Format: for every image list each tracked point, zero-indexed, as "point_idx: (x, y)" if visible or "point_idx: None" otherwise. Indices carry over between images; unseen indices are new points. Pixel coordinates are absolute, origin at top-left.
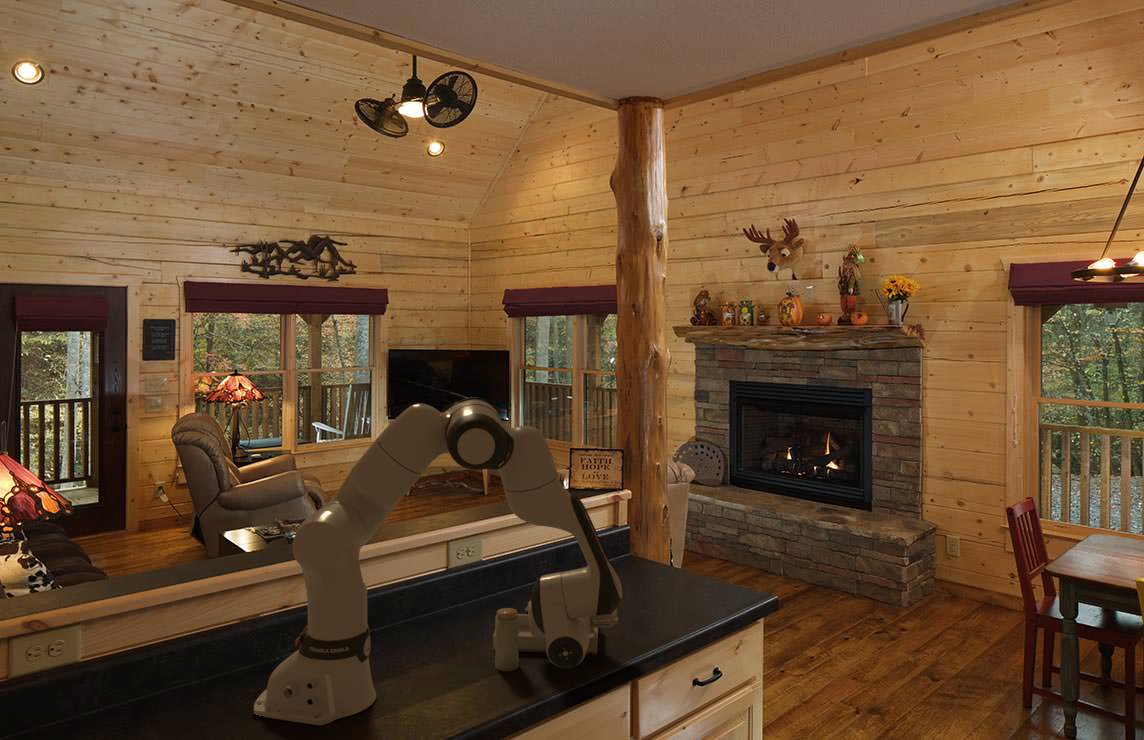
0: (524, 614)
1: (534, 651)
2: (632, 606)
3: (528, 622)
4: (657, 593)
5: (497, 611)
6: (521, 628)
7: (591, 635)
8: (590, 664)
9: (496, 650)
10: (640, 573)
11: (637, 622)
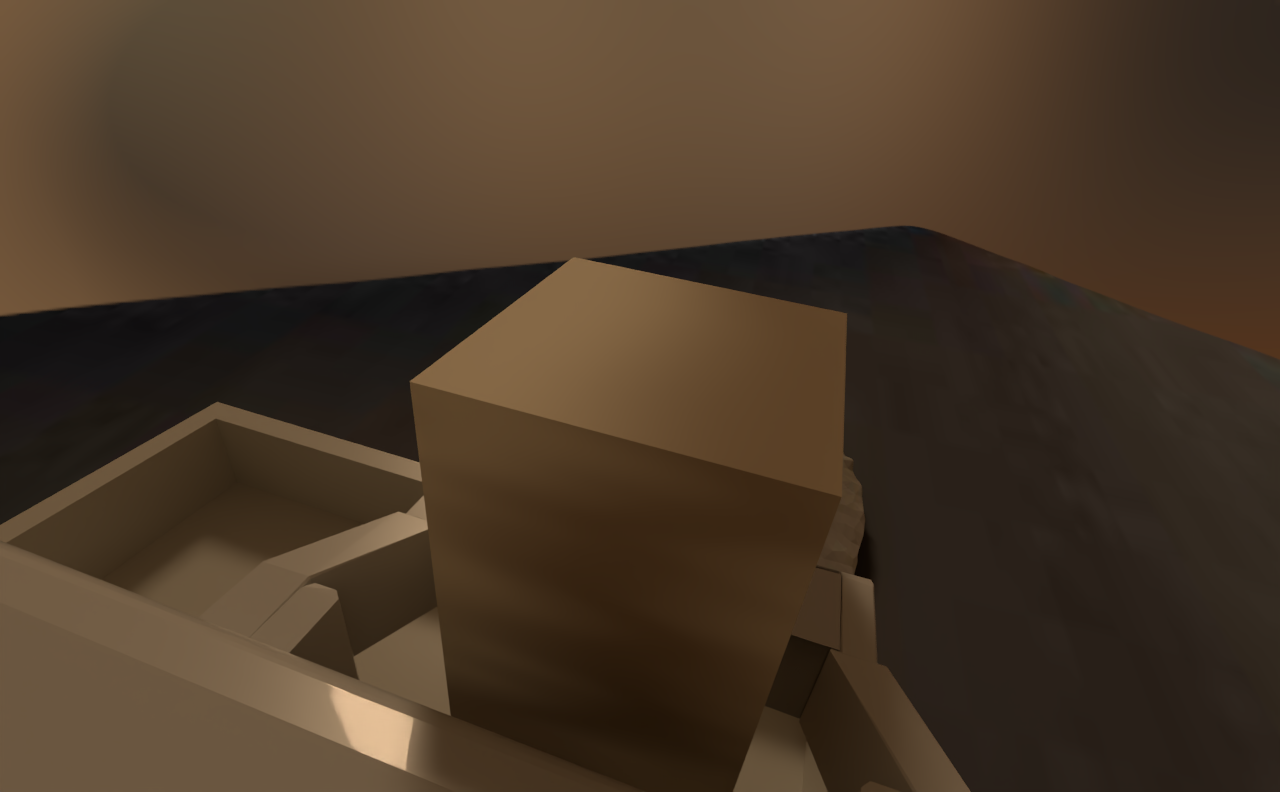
0: (340, 443)
1: None
2: (1006, 445)
3: (361, 499)
4: (1089, 383)
5: None
6: (315, 524)
7: (775, 782)
8: None
9: None
10: (977, 282)
11: (1096, 616)
